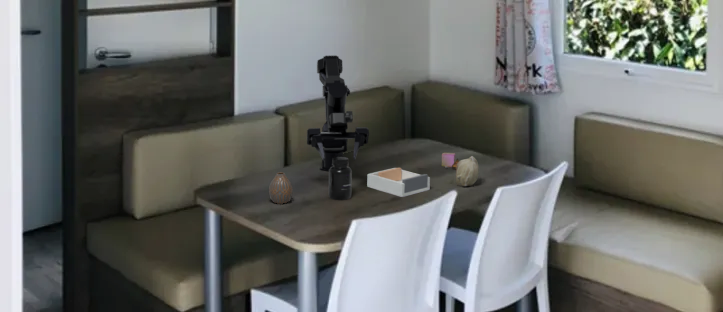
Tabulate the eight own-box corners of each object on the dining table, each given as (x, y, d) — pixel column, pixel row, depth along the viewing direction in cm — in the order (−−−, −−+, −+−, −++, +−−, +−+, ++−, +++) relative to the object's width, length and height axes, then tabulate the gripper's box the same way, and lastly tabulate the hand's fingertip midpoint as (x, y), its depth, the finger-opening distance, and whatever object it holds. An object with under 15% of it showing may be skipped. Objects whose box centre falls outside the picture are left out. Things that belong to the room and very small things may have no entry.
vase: (279, 197, 289) (278, 169, 287) (297, 201, 285) (297, 172, 283) (264, 203, 283) (263, 174, 281) (282, 207, 280) (282, 177, 278)
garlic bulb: (467, 188, 308) (473, 158, 309) (484, 190, 301) (490, 159, 302) (444, 183, 303) (450, 152, 304) (461, 185, 296) (466, 153, 297)
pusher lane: (367, 186, 301) (367, 171, 300) (394, 179, 309) (395, 164, 308) (402, 197, 290) (402, 180, 289) (429, 189, 298) (429, 174, 297)
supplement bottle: (348, 201, 286) (349, 161, 283) (326, 199, 287) (326, 160, 284) (353, 194, 292) (353, 156, 289) (331, 193, 293) (331, 155, 290)
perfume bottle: (435, 170, 323) (435, 156, 322) (443, 161, 334) (443, 148, 333) (470, 173, 319) (471, 159, 318) (477, 164, 330) (477, 151, 329)
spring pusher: (373, 182, 301) (374, 171, 300) (394, 177, 307) (394, 166, 306) (381, 184, 299) (381, 173, 298) (401, 179, 304) (401, 168, 304)
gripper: (306, 102, 291) (308, 146, 283) (368, 101, 293) (372, 145, 285) (306, 122, 301) (307, 165, 292) (365, 121, 302) (369, 164, 294)
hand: (339, 159), depth 291 cm, fingers open, 9 cm apart
